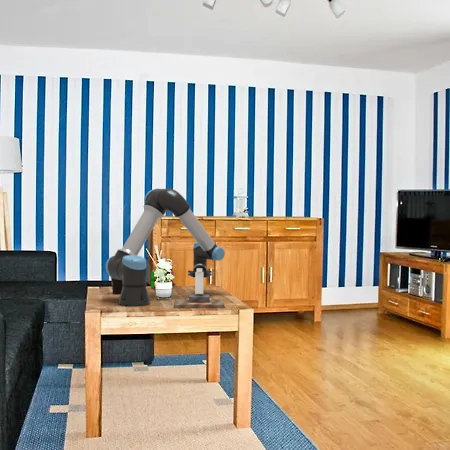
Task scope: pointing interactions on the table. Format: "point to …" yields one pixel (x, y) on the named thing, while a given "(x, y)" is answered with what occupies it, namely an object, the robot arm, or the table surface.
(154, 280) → the puzzle cube
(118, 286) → the coffee mug
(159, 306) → the table surface
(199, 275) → the switch lever
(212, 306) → the switch base
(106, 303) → the table surface
